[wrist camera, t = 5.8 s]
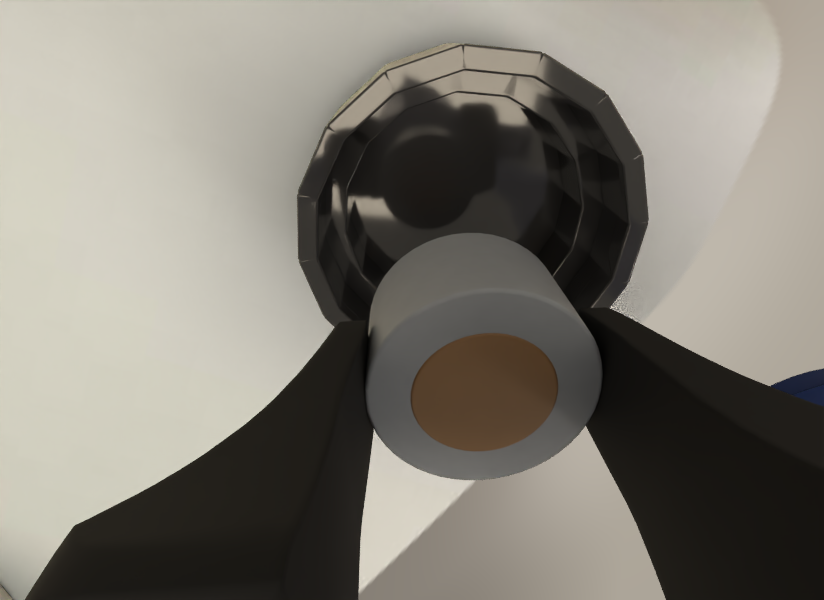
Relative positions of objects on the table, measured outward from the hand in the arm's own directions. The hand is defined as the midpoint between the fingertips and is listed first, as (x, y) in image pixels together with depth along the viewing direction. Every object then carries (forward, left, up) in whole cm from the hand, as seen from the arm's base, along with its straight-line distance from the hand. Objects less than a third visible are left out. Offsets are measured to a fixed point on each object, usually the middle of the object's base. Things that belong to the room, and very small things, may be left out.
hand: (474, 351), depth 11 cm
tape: (0, 0, -1) cm, 1 cm away
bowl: (0, -1, -9) cm, 9 cm away
